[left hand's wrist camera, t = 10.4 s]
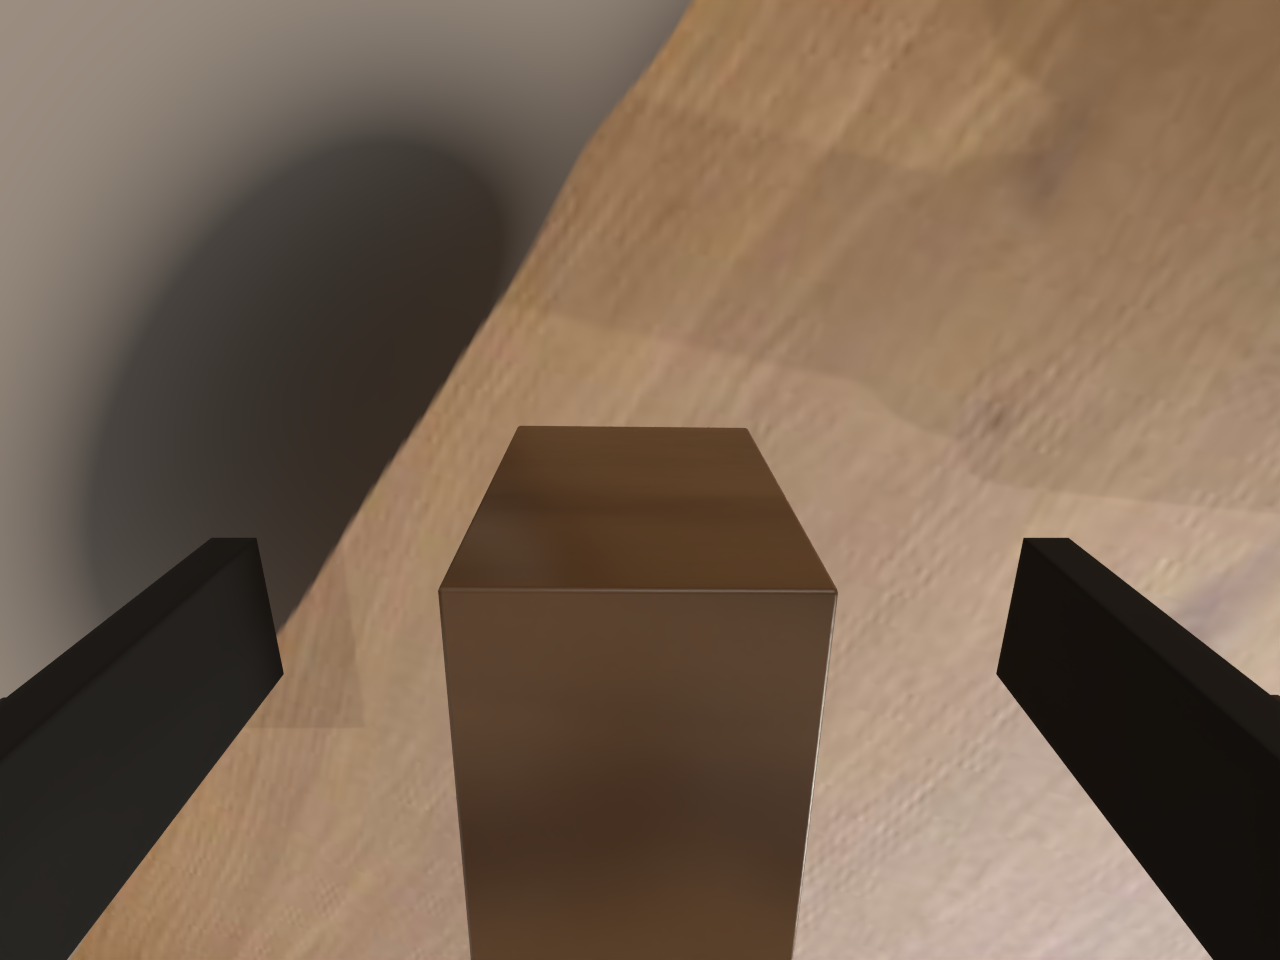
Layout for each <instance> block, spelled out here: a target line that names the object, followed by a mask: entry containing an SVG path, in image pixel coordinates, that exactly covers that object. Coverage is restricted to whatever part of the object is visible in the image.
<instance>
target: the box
mask: <svg viewBox="0 0 1280 960" xmlns="http://www.w3.org/2000/svg"><path fill="white" fill-rule="evenodd" d="M438 594H439V605H440V617H441V628H442V639H443V650H444V661H445V673H446V684H447V695H448V706H449V718H450V729H451V740H452V751H453V763H454V774H455V785H456V796H457V807H458V819H459V830H460V841H461V852H462V864H463V875H464V886H465V897H466V909H467V920H468V931H469V942H470V953H471V960H793V956H794V948H795V940H796V932H797V924H798V915H799V907H800V899H801V891H802V883H803V875H804V866H805V858H806V850H807V842H808V834H809V826H810V817H811V809H812V801H813V793H814V785H815V776H816V768H817V760H818V752H819V744H820V736H821V727H822V719H823V711H824V703H825V695H826V687H827V678H828V670H829V662H830V654H831V646H832V637H833V629H834V621H835V613H836V605H837V597H838V591H837V589H836V587H835V585H834V583H833V581H832V580H831V578H830V576H829V574H828V573H827V571H826V569H825V567H824V565H823V564H822V562H821V560H820V558H819V556H818V555H817V553H816V551H815V549H814V547H813V546H812V544H811V542H810V540H809V538H808V537H807V535H806V533H805V531H804V530H803V528H802V526H801V524H800V522H799V521H798V519H797V517H796V515H795V513H794V512H793V510H792V508H791V506H790V504H789V503H788V501H787V499H786V497H785V495H784V494H783V492H782V490H781V488H780V487H779V485H778V483H777V481H776V479H775V478H774V476H773V474H772V472H771V470H770V469H769V467H768V465H767V463H766V461H765V460H764V458H763V456H762V454H761V452H760V451H759V449H758V447H757V445H756V444H755V442H754V440H753V438H752V436H751V435H750V433H749V431H748V429H746V428H686V427H582V426H519V427H518V428H517V430H516V432H515V434H514V437H513V439H512V441H511V443H510V445H509V447H508V449H507V451H506V453H505V455H504V457H503V459H502V461H501V463H500V465H499V467H498V469H497V471H496V473H495V475H494V477H493V479H492V481H491V483H490V485H489V488H488V490H487V492H486V494H485V496H484V498H483V500H482V502H481V504H480V506H479V508H478V510H477V512H476V514H475V516H474V518H473V520H472V522H471V524H470V526H469V528H468V530H467V532H466V534H465V536H464V539H463V541H462V543H461V545H460V547H459V549H458V551H457V553H456V555H455V557H454V559H453V561H452V563H451V565H450V567H449V569H448V571H447V573H446V575H445V577H444V579H443V581H442V583H441V585H440V588H439V590H438Z"/></svg>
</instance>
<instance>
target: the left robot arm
mask: <svg viewBox="0 0 1280 960" xmlns="http://www.w3.org/2000/svg"><path fill="white" fill-rule="evenodd" d="M283 674H284V673H283V668H282V663H281V658H280V653H279V648H278V643H277V638H276V633H275V628H274V623H273V618H272V613H271V608H270V603H269V598H268V593H267V588H266V583H265V578H264V574H263V568H262V564H261V559H260V554H259V549H258V544H257V539H256V538H211V539H210V540H208V541H207V542H206V543H204V544H203V545H202V546H201V547H199V548H198V549H197V550H195V551H194V552H193V553H192V554H190V555H189V556H188V557H186V558H185V559H184V560H183V561H181V562H180V563H179V564H177V565H176V566H175V567H174V568H172V569H171V570H170V571H168V572H167V573H166V574H165V575H163V576H162V577H161V578H159V579H158V580H157V581H156V582H154V583H153V584H152V585H150V586H149V587H148V588H147V589H145V590H144V591H143V592H141V593H140V594H139V595H138V596H136V597H135V598H134V599H132V600H131V601H130V602H129V603H127V604H126V605H125V606H123V607H122V608H121V609H120V610H118V611H117V612H116V613H114V614H113V615H112V616H111V617H109V618H108V619H107V620H105V621H104V622H103V623H102V624H100V625H99V626H98V627H96V628H95V629H94V630H93V631H91V632H90V633H89V634H87V635H86V636H85V637H84V638H82V639H81V640H80V641H78V642H77V643H76V644H75V645H73V646H72V647H71V648H70V649H68V650H67V651H66V652H64V653H63V654H62V655H60V656H59V657H58V658H57V659H55V660H54V661H53V662H51V663H50V664H49V665H48V666H46V667H45V668H44V669H42V670H41V671H40V672H39V673H37V674H36V675H35V676H33V677H32V678H31V679H30V680H28V681H27V682H26V683H24V684H23V685H22V686H21V687H19V688H18V689H17V690H16V691H14V692H13V693H12V694H10V695H9V696H8V697H6V698H2V699H0V960H67V959H68V958H69V956H70V955H71V954H72V952H73V951H74V950H75V948H76V947H77V946H78V944H79V943H80V942H81V940H82V939H83V938H84V936H85V935H86V934H87V932H88V931H89V930H90V929H91V927H92V926H93V925H94V923H95V922H96V921H97V919H98V918H99V917H100V915H101V914H102V913H103V911H104V910H105V909H106V907H107V906H108V905H109V903H110V902H111V901H112V900H113V898H114V897H115V896H116V894H117V893H118V892H119V890H120V889H121V888H122V886H123V885H124V884H125V882H126V881H127V880H128V878H129V877H130V876H131V875H132V873H133V872H134V871H135V869H136V868H137V867H138V865H139V864H140V863H141V861H142V860H143V859H144V857H145V856H146V855H147V853H148V852H149V851H150V849H151V848H152V847H153V846H154V844H155V843H156V842H157V840H158V839H159V838H160V836H161V835H162V834H163V832H164V831H165V830H166V828H167V827H168V826H169V824H170V823H171V822H172V820H173V819H174V818H175V817H176V815H177V814H178V813H179V811H180V810H181V809H182V807H183V806H184V805H185V803H186V802H187V801H188V799H189V798H190V797H191V795H192V794H193V793H194V791H195V790H196V789H197V788H198V786H199V785H200V784H201V782H202V781H203V780H204V778H205V777H206V776H207V774H208V773H209V772H210V770H211V769H212V768H213V766H214V765H215V764H216V763H217V761H218V760H219V759H220V757H221V756H222V755H223V753H224V752H225V751H226V749H227V748H228V747H229V745H230V744H231V743H232V741H233V740H234V739H235V737H236V736H237V735H238V734H239V732H240V731H241V730H242V728H243V727H244V726H245V724H246V723H247V722H248V720H249V719H250V718H251V716H252V715H253V714H254V712H255V711H256V710H257V708H258V707H259V706H260V705H261V703H262V702H263V701H264V699H265V698H266V697H267V695H268V694H269V693H270V691H271V690H272V689H273V687H274V686H275V685H276V683H277V682H278V681H279V680H280V678H281V677H282V676H283ZM996 674H997V676H998V677H999V678H1000V680H1001V681H1002V682H1003V683H1004V685H1005V686H1006V687H1007V689H1008V690H1009V691H1010V693H1011V694H1012V695H1013V697H1014V698H1015V699H1016V701H1017V702H1018V703H1019V705H1020V706H1021V707H1022V708H1023V710H1024V711H1025V712H1026V714H1027V715H1028V716H1029V718H1030V719H1031V720H1032V722H1033V723H1034V724H1035V726H1036V727H1037V728H1038V730H1039V731H1040V732H1041V734H1042V735H1043V736H1044V737H1045V739H1046V740H1047V741H1048V743H1049V744H1050V745H1051V747H1052V748H1053V749H1054V751H1055V752H1056V753H1057V755H1058V756H1059V757H1060V759H1061V760H1062V761H1063V763H1064V764H1065V765H1066V766H1067V768H1068V769H1069V770H1070V772H1071V773H1072V774H1073V776H1074V777H1075V778H1076V780H1077V781H1078V782H1079V784H1080V785H1081V786H1082V788H1083V789H1084V790H1085V791H1086V793H1087V794H1088V795H1089V797H1090V798H1091V799H1092V801H1093V802H1094V803H1095V805H1096V806H1097V807H1098V809H1099V810H1100V811H1101V813H1102V814H1103V815H1104V817H1105V818H1106V819H1107V820H1108V822H1109V823H1110V824H1111V826H1112V827H1113V828H1114V830H1115V831H1116V832H1117V834H1118V835H1119V836H1120V838H1121V839H1122V840H1123V842H1124V843H1125V844H1126V846H1127V847H1128V848H1129V849H1130V851H1131V852H1132V853H1133V855H1134V856H1135V857H1136V859H1137V860H1138V861H1139V863H1140V864H1141V865H1142V867H1143V868H1144V869H1145V871H1146V872H1147V873H1148V875H1149V876H1150V877H1151V878H1152V880H1153V881H1154V882H1155V884H1156V885H1157V886H1158V888H1159V889H1160V890H1161V892H1162V893H1163V894H1164V896H1165V897H1166V898H1167V900H1168V901H1169V902H1170V903H1171V905H1172V906H1173V907H1174V909H1175V910H1176V911H1177V913H1178V914H1179V915H1180V917H1181V918H1182V919H1183V921H1184V922H1185V923H1186V925H1187V926H1188V927H1189V929H1190V930H1191V931H1192V932H1193V934H1194V935H1195V936H1196V938H1197V939H1198V940H1199V942H1200V943H1201V944H1202V946H1203V947H1204V948H1205V950H1206V951H1207V952H1208V954H1209V955H1210V956H1211V958H1212V959H1213V960H1280V696H1279V695H1270V694H1268V693H1267V692H1266V691H1265V690H1263V689H1262V688H1261V687H1259V686H1258V685H1257V684H1256V683H1254V682H1253V681H1252V680H1250V679H1249V678H1248V677H1247V676H1245V675H1244V674H1243V673H1241V672H1240V671H1239V670H1238V669H1236V668H1235V667H1234V666H1232V665H1231V664H1230V663H1229V662H1227V661H1226V660H1225V659H1223V658H1222V657H1221V656H1220V655H1218V654H1217V653H1216V652H1214V651H1213V650H1212V649H1211V648H1209V647H1208V646H1207V645H1205V644H1204V643H1203V642H1202V641H1200V640H1199V639H1198V638H1196V637H1195V636H1194V635H1193V634H1191V633H1190V632H1189V631H1187V630H1186V629H1185V628H1184V627H1182V626H1181V625H1180V624H1178V623H1177V622H1176V621H1175V620H1173V619H1172V618H1171V617H1169V616H1168V615H1167V614H1166V613H1164V612H1163V611H1162V610H1160V609H1159V608H1158V607H1157V606H1155V605H1154V604H1153V603H1151V602H1150V601H1149V600H1148V599H1146V598H1145V597H1144V596H1142V595H1141V594H1140V593H1139V592H1137V591H1136V590H1135V589H1133V588H1132V587H1131V586H1130V585H1128V584H1127V583H1126V582H1124V581H1123V580H1122V579H1121V578H1119V577H1118V576H1117V575H1115V574H1114V573H1113V572H1112V571H1110V570H1109V569H1108V568H1106V567H1105V566H1104V565H1103V564H1101V563H1100V562H1099V561H1097V560H1096V559H1095V558H1094V557H1092V556H1091V555H1090V554H1088V553H1087V552H1086V551H1085V550H1083V549H1082V548H1081V547H1079V546H1078V545H1077V544H1076V543H1074V542H1073V541H1072V540H1070V539H1069V538H1024V539H1023V544H1022V549H1021V554H1020V559H1019V563H1018V568H1017V573H1016V578H1015V583H1014V588H1013V593H1012V598H1011V603H1010V608H1009V613H1008V618H1007V623H1006V628H1005V633H1004V638H1003V643H1002V648H1001V653H1000V658H999V663H998V668H997V673H996Z"/></svg>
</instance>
